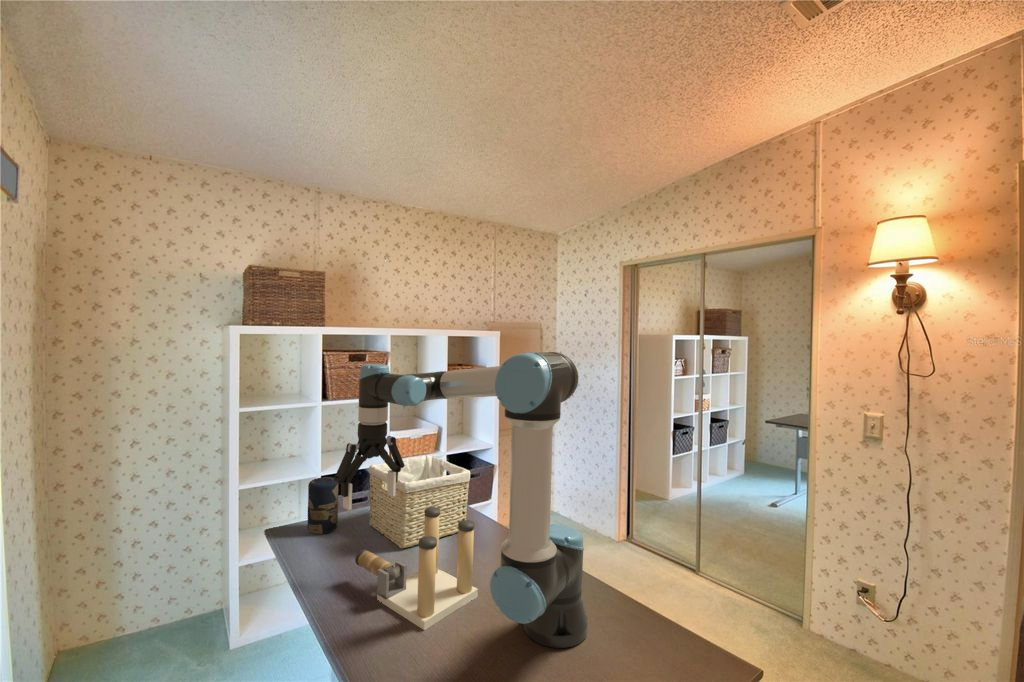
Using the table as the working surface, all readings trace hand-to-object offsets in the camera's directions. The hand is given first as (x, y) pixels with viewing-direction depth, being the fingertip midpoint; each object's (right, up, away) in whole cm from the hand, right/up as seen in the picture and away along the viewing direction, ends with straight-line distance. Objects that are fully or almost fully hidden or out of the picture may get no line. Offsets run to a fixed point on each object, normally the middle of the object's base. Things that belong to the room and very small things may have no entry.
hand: (370, 501), depth 122 cm
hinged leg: (+3, -18, -2) cm, 19 cm away
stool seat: (+16, -23, -5) cm, 29 cm away
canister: (-26, -21, +33) cm, 47 cm away
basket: (+5, -23, +37) cm, 44 cm away
